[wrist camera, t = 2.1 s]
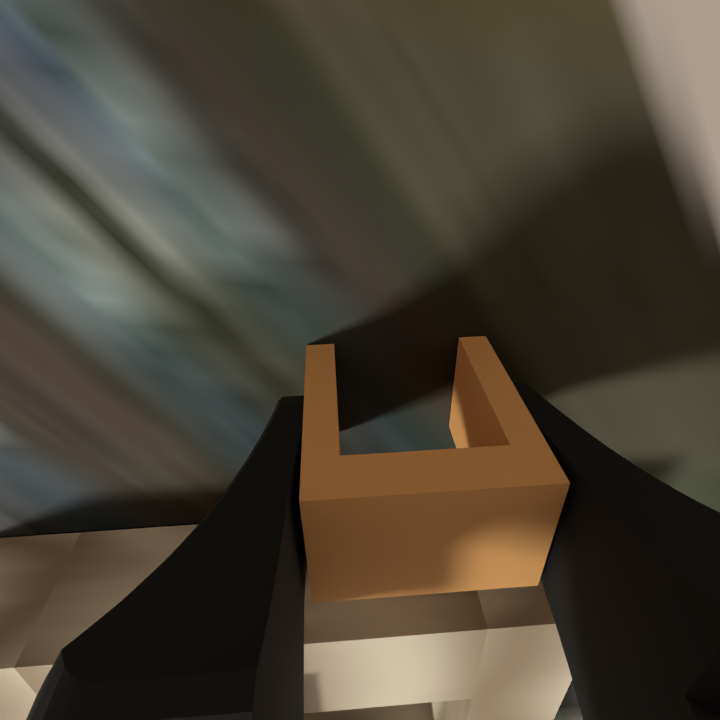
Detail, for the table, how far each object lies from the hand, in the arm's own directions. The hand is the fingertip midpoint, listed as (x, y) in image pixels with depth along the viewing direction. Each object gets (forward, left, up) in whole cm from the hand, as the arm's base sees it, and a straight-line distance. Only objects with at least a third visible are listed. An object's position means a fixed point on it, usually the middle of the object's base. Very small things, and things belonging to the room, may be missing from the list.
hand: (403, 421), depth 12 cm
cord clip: (0, 0, -1) cm, 1 cm away
